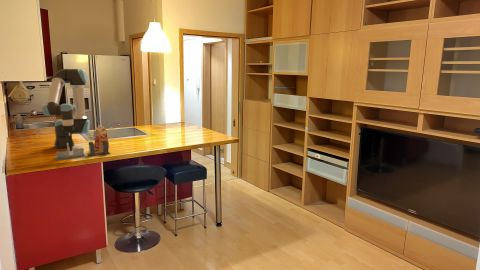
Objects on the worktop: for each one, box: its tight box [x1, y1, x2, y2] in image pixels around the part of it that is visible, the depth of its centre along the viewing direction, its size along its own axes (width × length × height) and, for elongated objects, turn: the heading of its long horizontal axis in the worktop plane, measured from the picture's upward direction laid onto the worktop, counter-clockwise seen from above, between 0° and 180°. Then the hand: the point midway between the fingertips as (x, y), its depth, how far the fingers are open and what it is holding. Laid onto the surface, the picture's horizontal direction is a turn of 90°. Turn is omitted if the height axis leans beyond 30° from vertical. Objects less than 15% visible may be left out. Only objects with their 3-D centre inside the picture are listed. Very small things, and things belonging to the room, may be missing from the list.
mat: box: [55, 153, 87, 161], centre depth 251 cm, size 9×20×1 cm, turn 122°
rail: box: [56, 148, 85, 159], centre depth 251 cm, size 4×18×5 cm, turn 122°
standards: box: [87, 141, 111, 157], centre depth 260 cm, size 7×15×10 cm, turn 122°
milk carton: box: [94, 124, 110, 151], centre depth 275 cm, size 9×9×20 cm
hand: (70, 152), depth 250 cm, fingers open, 13 cm apart
